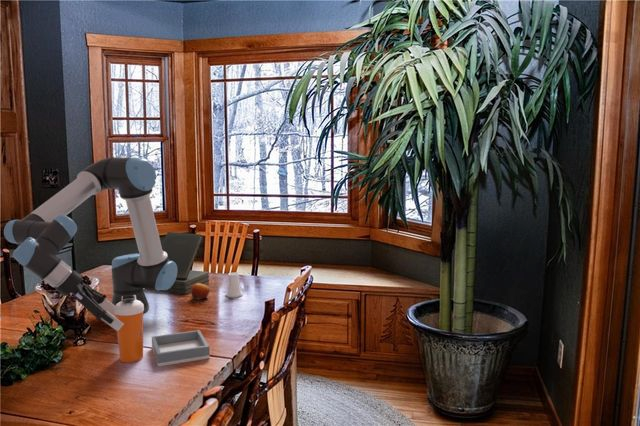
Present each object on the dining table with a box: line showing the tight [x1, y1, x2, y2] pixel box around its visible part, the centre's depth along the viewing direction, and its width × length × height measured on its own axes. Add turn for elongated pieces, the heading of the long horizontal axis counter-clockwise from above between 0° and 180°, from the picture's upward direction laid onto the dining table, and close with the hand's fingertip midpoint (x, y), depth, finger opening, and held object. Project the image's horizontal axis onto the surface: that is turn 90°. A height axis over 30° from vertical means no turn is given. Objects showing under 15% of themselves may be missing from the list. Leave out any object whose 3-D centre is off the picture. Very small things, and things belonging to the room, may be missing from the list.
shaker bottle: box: [114, 295, 144, 363], centre depth 170 cm, size 9×9×20 cm
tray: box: [151, 329, 211, 367], centre depth 175 cm, size 16×16×4 cm
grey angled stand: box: [143, 231, 210, 296], centre depth 253 cm, size 23×20×25 cm
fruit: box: [190, 283, 211, 302], centre depth 235 cm, size 8×8×8 cm
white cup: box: [225, 271, 243, 299], centre depth 240 cm, size 8×8×10 cm
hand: (119, 320), depth 168 cm, fingers open, 13 cm apart
